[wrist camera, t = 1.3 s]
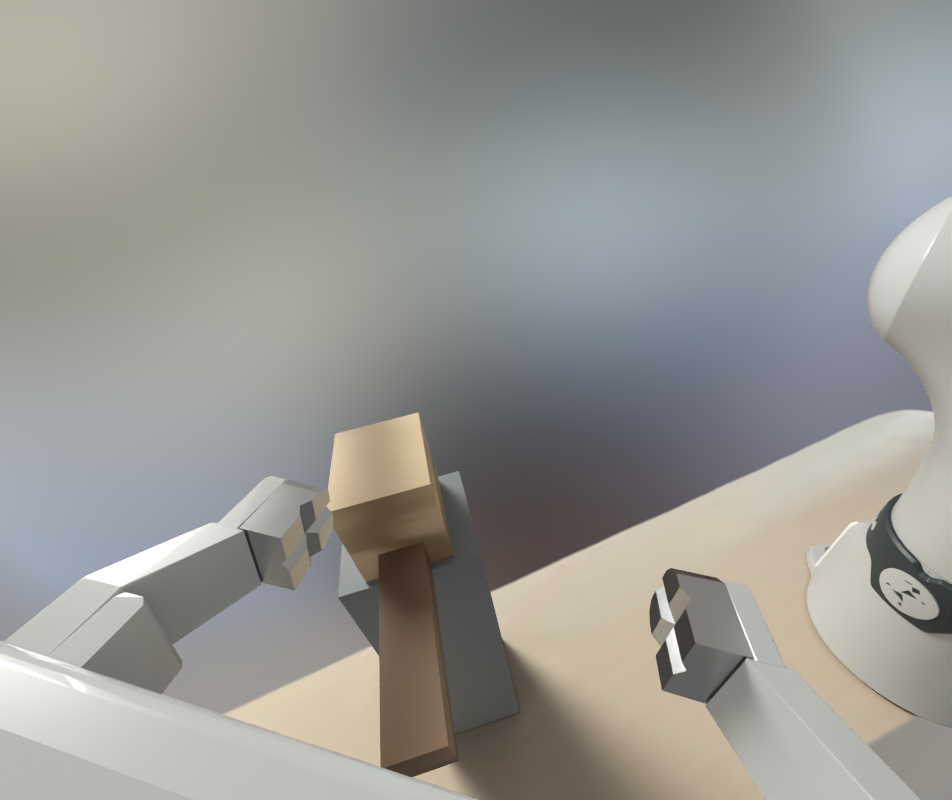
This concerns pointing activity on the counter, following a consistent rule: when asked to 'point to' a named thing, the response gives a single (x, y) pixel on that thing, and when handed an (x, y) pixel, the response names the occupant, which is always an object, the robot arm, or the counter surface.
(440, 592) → the stand
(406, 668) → the mallet
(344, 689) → the counter surface
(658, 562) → the counter surface
